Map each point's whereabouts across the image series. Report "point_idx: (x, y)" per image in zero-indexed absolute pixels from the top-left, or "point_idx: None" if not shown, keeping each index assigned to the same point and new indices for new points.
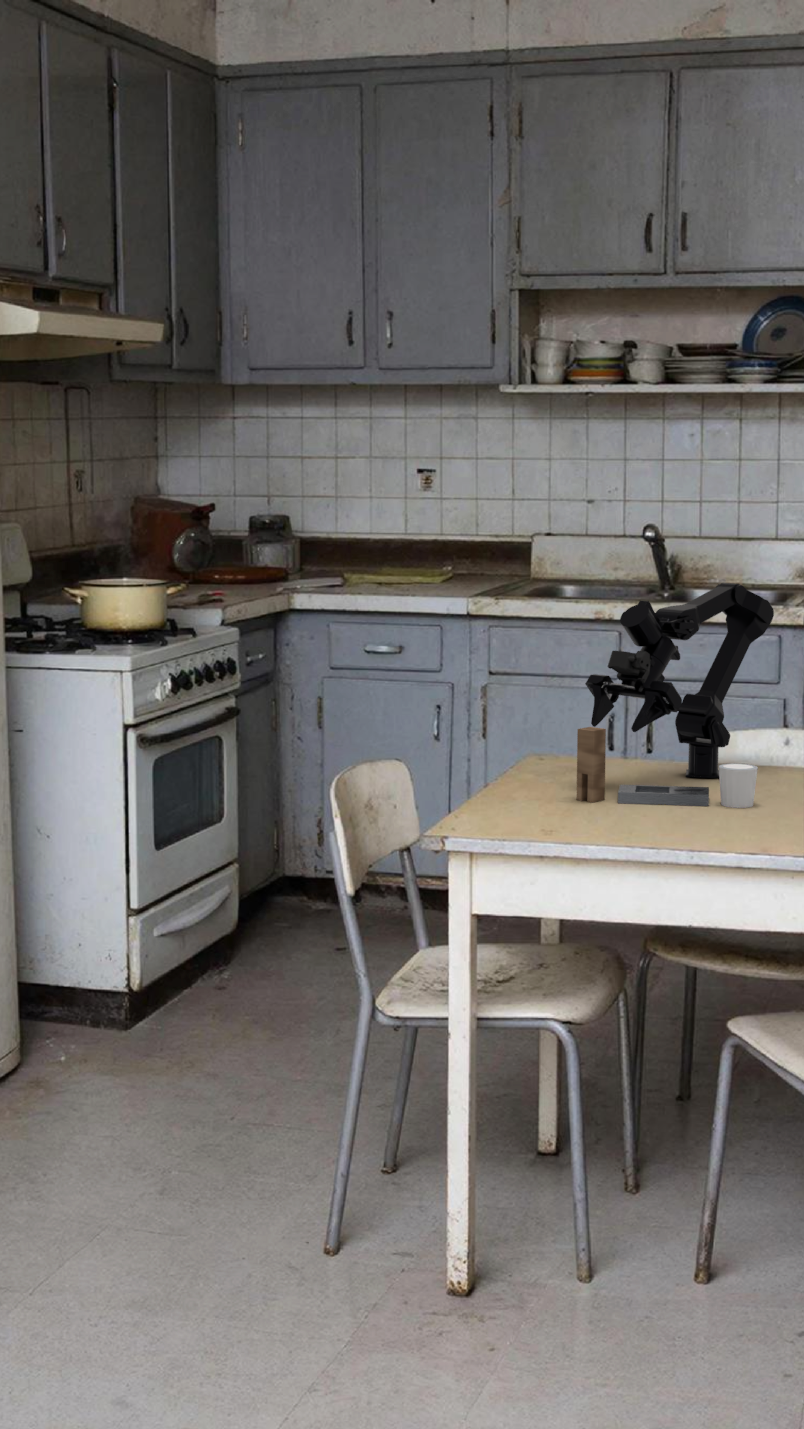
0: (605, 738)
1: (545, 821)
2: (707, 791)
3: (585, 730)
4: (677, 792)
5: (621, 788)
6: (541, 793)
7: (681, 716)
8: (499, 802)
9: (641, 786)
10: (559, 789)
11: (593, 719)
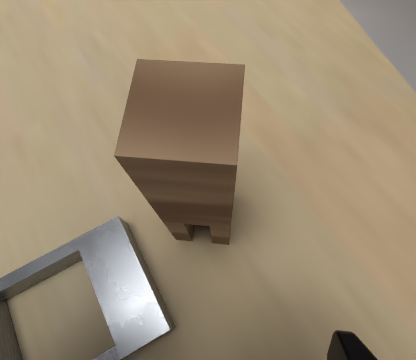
0: (131, 177)
1: (162, 6)
2: None
3: (189, 63)
4: None
5: (135, 271)
6: (357, 210)
7: None
8: (345, 73)
9: (100, 354)
10: (365, 292)
11: (353, 352)
